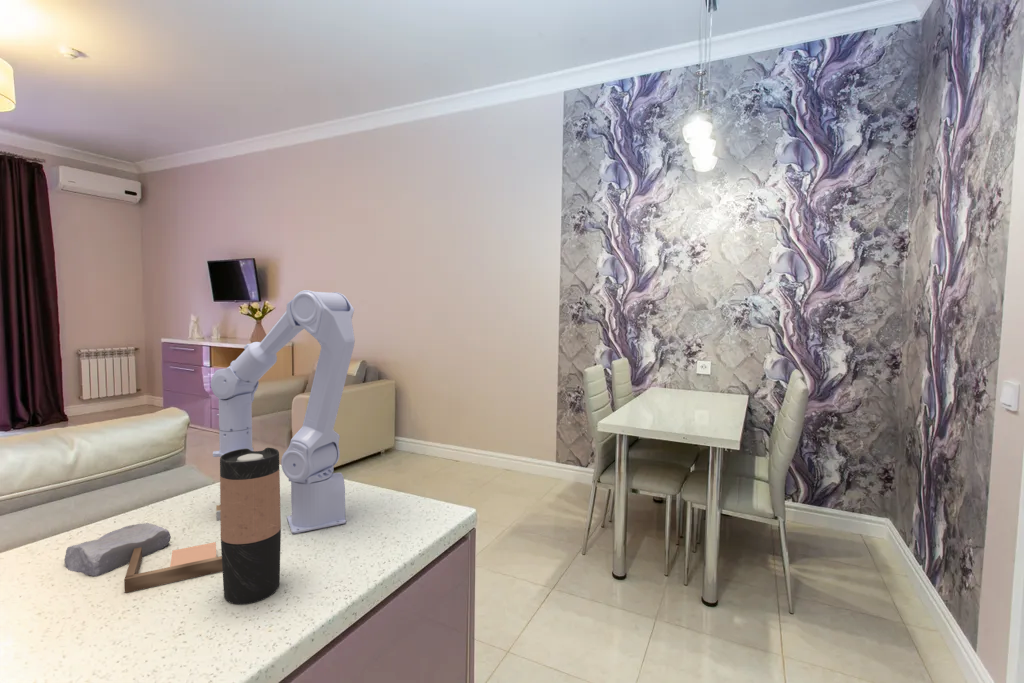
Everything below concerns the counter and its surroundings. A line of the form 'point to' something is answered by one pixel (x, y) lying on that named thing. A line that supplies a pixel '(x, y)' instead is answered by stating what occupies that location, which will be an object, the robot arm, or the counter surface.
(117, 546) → the stone block
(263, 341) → the robot arm
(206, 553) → the terracotta tile
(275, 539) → the travel mug
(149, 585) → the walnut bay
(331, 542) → the counter surface
